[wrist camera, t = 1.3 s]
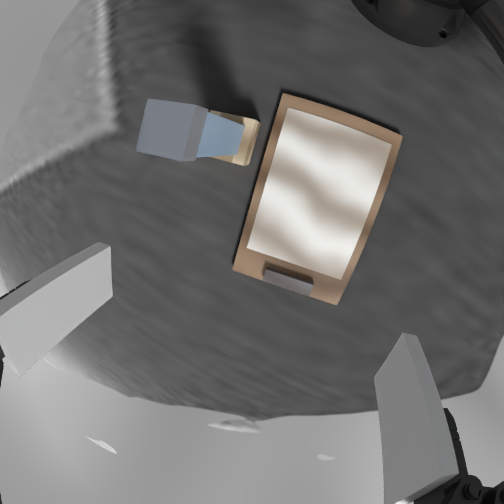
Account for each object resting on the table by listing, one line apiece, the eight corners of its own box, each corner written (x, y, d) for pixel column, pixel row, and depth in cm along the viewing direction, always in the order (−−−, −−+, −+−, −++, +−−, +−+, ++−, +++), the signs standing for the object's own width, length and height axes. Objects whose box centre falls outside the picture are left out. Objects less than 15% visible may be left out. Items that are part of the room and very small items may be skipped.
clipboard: (283, 94, 26) (282, 91, 25) (401, 136, 25) (405, 135, 24) (233, 268, 35) (230, 272, 34) (336, 302, 34) (337, 308, 33)
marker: (219, 119, 27) (147, 98, 14) (249, 126, 27) (196, 105, 14) (211, 149, 29) (135, 150, 16) (241, 156, 29) (182, 161, 15)
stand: (219, 113, 29) (210, 110, 26) (260, 123, 28) (255, 119, 25) (208, 153, 31) (199, 154, 28) (248, 164, 30) (242, 165, 27)
